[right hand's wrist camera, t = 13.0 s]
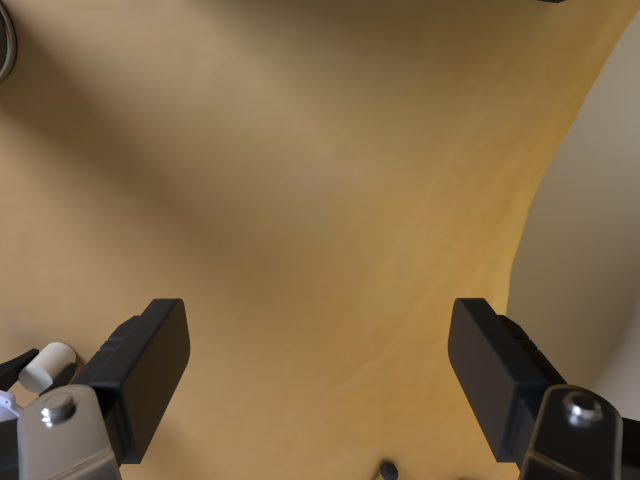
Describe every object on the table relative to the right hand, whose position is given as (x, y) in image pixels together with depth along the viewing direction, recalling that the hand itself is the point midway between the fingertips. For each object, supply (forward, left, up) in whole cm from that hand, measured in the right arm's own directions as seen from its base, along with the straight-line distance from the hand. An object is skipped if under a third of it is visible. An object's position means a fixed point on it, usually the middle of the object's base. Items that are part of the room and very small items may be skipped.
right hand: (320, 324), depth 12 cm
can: (+1, -40, -29) cm, 49 cm away
